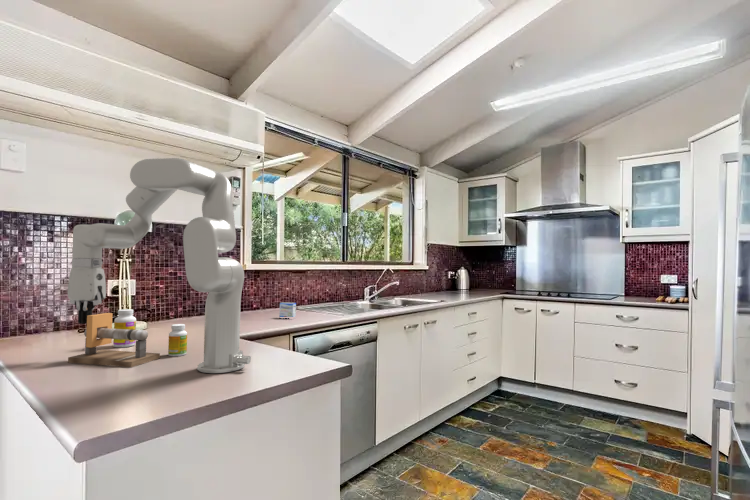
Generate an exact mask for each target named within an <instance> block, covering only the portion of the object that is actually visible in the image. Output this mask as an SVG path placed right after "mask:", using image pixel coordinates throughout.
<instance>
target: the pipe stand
mask: <svg viewBox="0 0 750 500" xmlns="http://www.w3.org/2000/svg"><path fill="white" fill-rule="evenodd" d="M86 332H87V328H85V330H84V333H83V335H84V336H85V338H86ZM148 336H149V333H148V331H147V330H146V329H145V330H143V329H136V330H134V329H131V330H128V329H114V328H112V329H108V328H102V327H99V328H97V339H99V338H107V339H112V340H114V339H124V340H135V351H130V350H129V351H128V350H126V351H125V350H110V349H99V350H97V346H96V347H92V348H90V347H86V340H85V341H84V342H85V344H84V345H85V346H84V353H82V354H77V355H73V356H68V357H67V363H68V364H69V363H71V364H81V365H82V364H83V365H97V366H109V367H124V368H133V367H137V366H139V365H143V364H146V363H149V362H153V361H155V360H159V359H160V358H161V353H157V352H148V351H147V339H148Z"/></svg>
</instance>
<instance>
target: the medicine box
mask: <svg viewBox="0 0 750 500" xmlns="http://www.w3.org/2000/svg"><path fill="white" fill-rule="evenodd" d="M278 314H279V317H295V316H296V315H297V302H279V313H278ZM296 317H297V316H296Z"/></svg>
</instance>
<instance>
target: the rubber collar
mask: <svg viewBox="0 0 750 500" xmlns="http://www.w3.org/2000/svg"><path fill="white" fill-rule="evenodd" d="M97 328H108V329H113V313H112V312H105V313H98V314H97V313H95V314H92V315H89V316H87V323H86V329H87V332H86V337H85V341H86V347H90V348H92V347H96V348H97V347H100V346H104V345H108V344H109V345H110V344H112V342H113V341H112V340H113V339H107V338H97Z"/></svg>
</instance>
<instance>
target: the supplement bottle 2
mask: <svg viewBox="0 0 750 500" xmlns="http://www.w3.org/2000/svg"><path fill="white" fill-rule="evenodd" d="M170 327H171V331H170V332H168V351H167V354H168V356H169V357H182V356H185V355H187V353H188V352H187V351H188V348H187V347H188V332H187V331H186V330H185V329H186V324H184V323H175V324H171V326H170Z"/></svg>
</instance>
